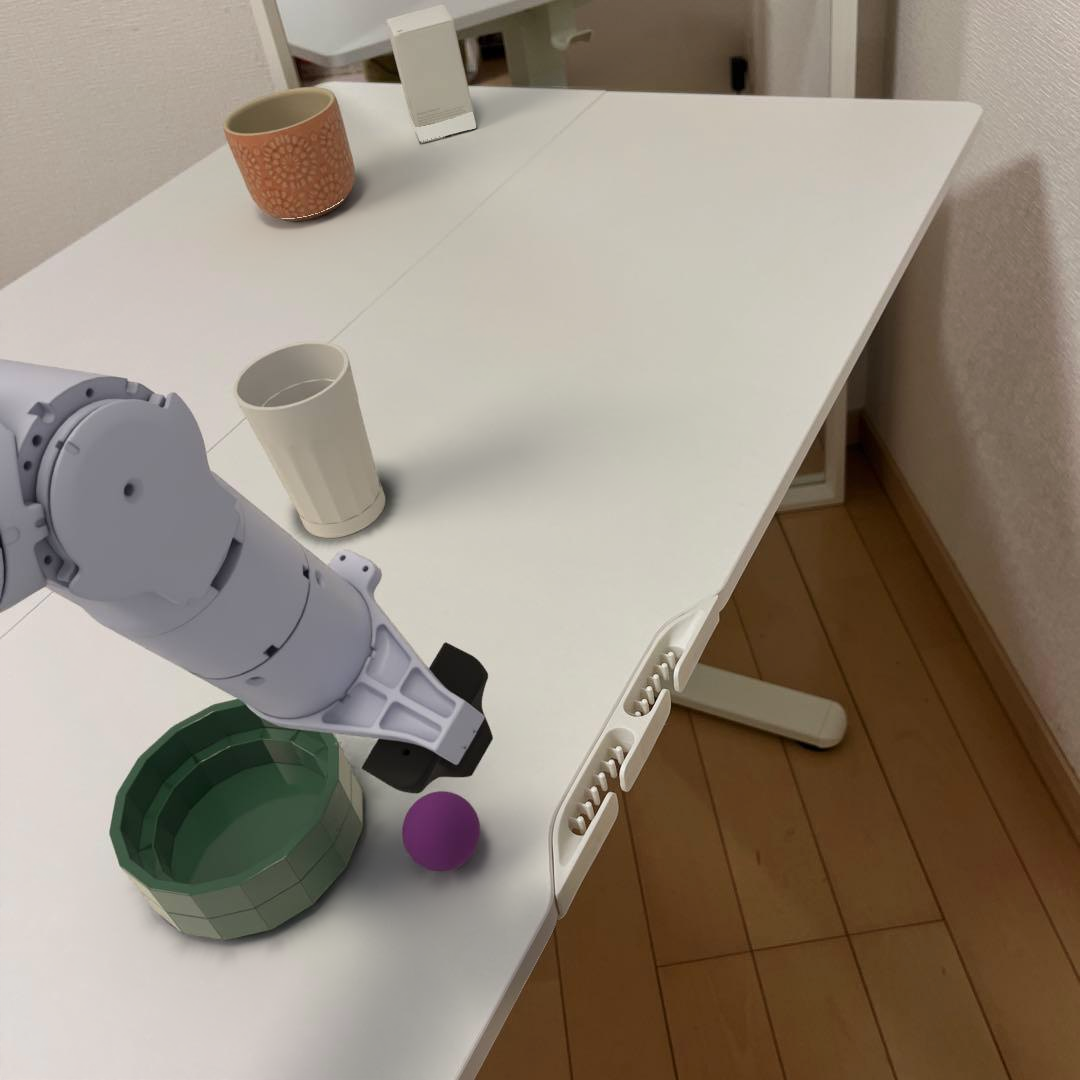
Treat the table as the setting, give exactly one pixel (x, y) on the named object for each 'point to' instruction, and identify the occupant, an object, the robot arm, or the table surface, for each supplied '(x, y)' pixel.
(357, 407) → the cup
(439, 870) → the ball
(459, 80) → the white packaging box
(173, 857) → the bowl
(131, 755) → the table surface
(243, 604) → the robot arm
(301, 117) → the planter
